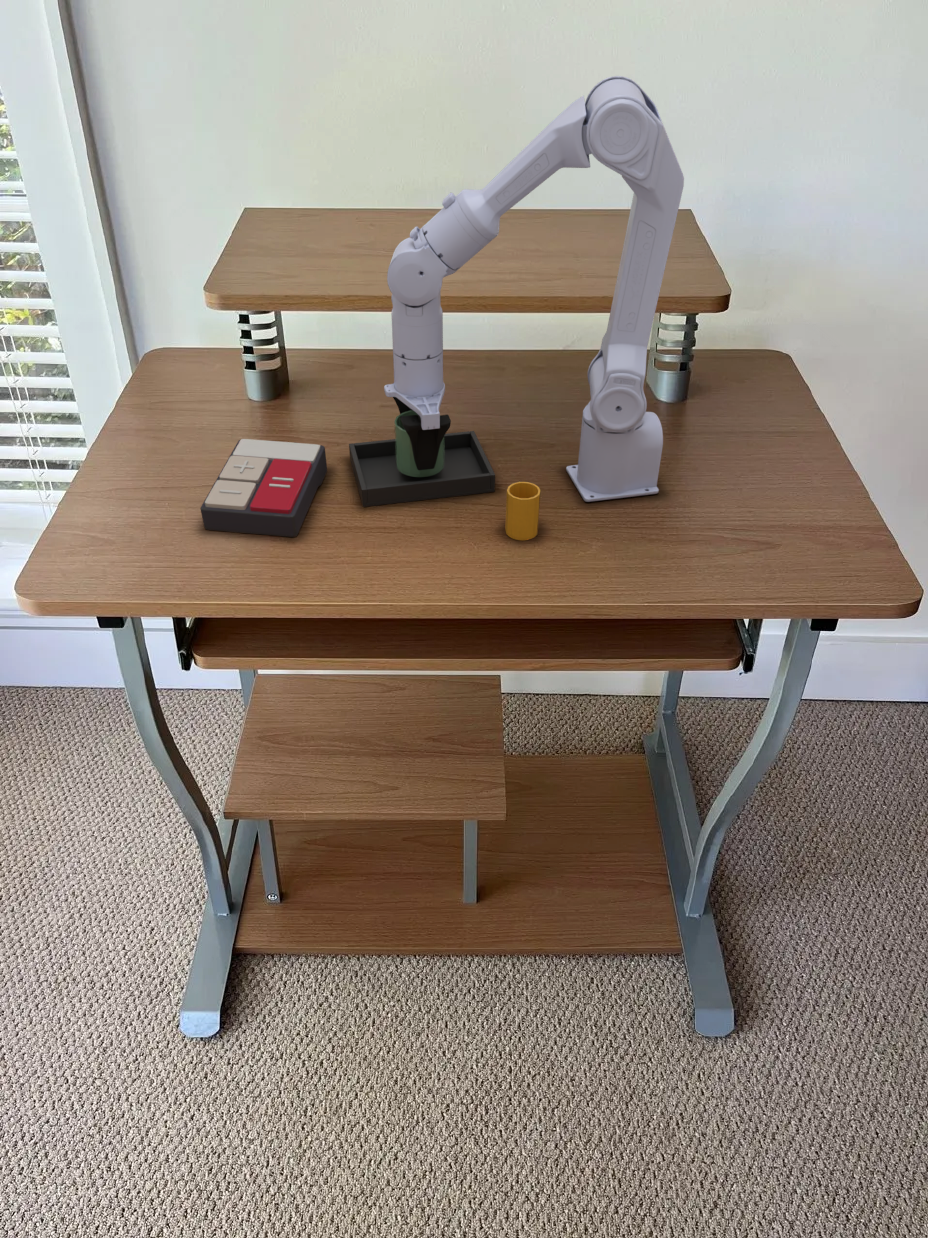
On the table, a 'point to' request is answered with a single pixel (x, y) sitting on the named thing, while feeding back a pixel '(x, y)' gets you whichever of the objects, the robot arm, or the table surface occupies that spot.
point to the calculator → (265, 488)
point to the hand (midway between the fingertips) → (420, 454)
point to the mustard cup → (522, 510)
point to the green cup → (405, 452)
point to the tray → (389, 485)
